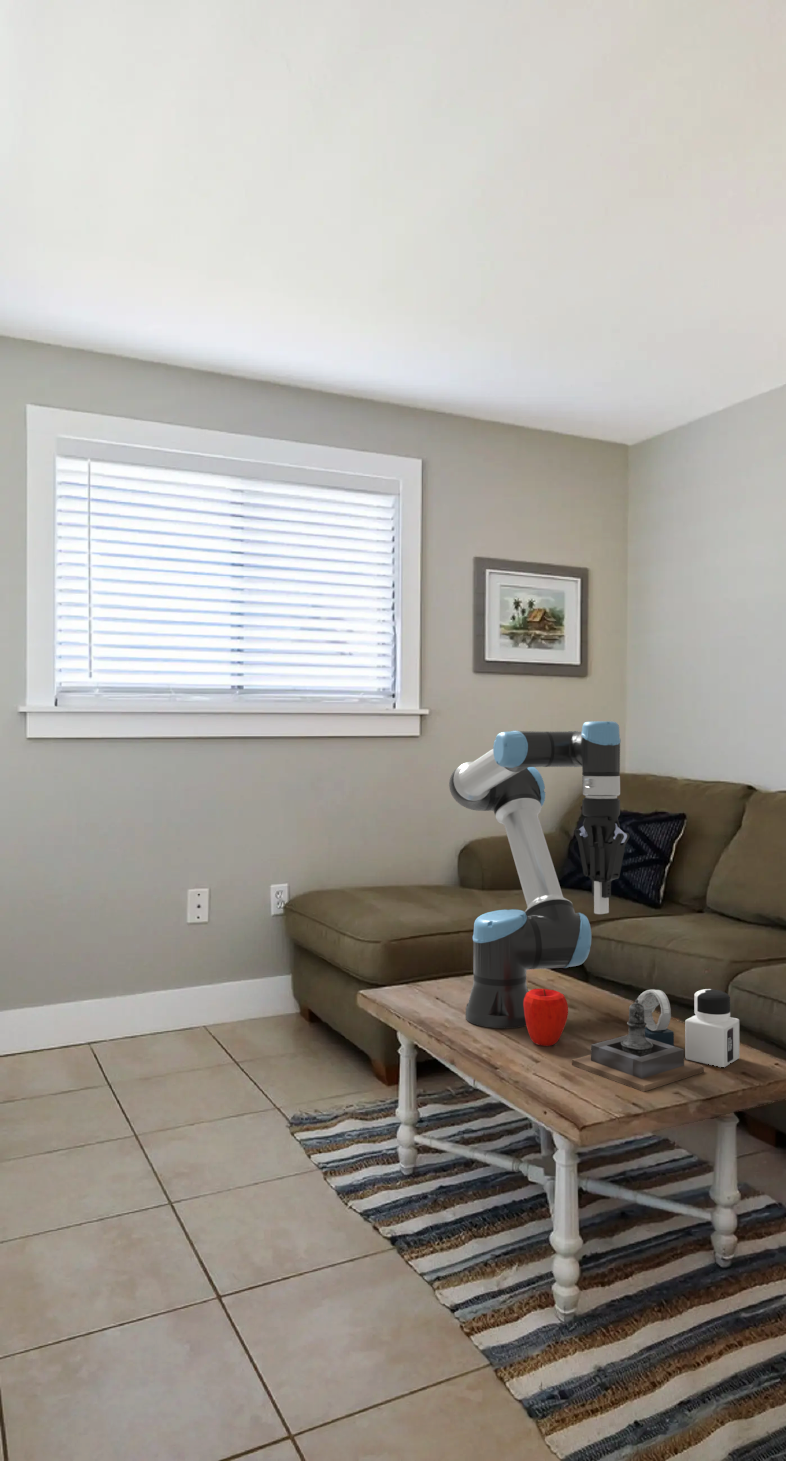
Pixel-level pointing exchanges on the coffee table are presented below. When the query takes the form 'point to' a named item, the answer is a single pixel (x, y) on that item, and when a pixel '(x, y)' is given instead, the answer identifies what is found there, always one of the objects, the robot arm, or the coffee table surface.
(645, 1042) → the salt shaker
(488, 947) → the robot arm
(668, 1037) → the watch
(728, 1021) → the container
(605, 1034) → the coffee table surface
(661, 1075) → the holder
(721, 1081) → the coffee table surface
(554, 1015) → the apple
